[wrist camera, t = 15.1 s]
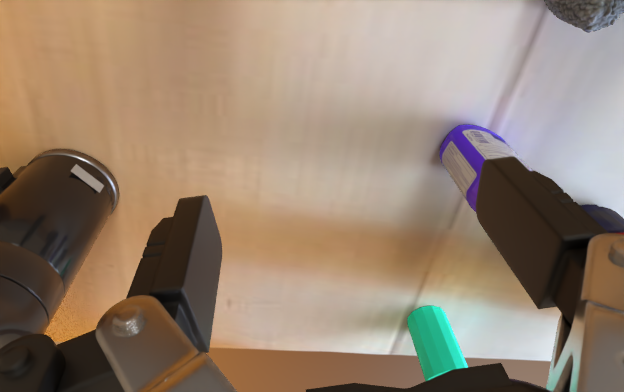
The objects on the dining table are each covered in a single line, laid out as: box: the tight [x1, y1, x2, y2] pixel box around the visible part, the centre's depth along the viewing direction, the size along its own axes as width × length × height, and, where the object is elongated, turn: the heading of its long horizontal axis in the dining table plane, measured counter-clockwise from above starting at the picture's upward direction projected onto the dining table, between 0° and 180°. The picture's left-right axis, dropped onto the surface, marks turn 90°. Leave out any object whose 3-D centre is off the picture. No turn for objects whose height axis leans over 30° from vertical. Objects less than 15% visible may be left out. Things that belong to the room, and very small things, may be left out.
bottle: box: [440, 125, 533, 212], centre depth 38 cm, size 7×6×17 cm
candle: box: [407, 306, 468, 381], centre depth 58 cm, size 6×6×12 cm
